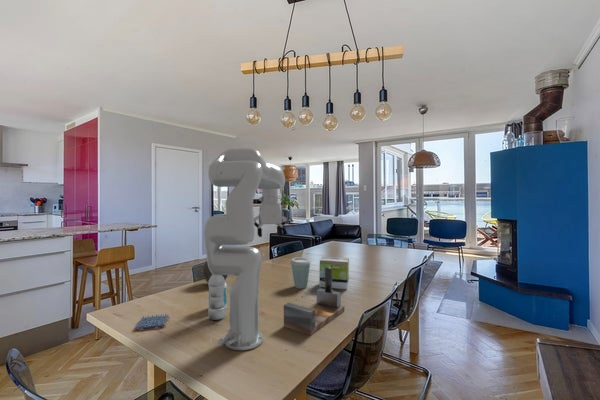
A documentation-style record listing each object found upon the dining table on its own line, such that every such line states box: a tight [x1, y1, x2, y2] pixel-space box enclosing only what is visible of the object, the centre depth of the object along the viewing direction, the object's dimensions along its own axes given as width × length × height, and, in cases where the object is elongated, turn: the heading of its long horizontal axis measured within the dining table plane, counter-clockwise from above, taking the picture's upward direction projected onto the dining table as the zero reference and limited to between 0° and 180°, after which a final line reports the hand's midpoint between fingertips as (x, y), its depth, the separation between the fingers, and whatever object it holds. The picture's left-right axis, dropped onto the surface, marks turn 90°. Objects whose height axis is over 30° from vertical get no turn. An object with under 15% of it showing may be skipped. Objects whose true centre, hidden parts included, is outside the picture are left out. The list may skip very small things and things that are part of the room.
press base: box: [283, 302, 345, 336], centre depth 113 cm, size 26×12×8 cm, turn 145°
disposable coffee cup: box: [290, 257, 311, 289], centre depth 153 cm, size 11×11×15 cm
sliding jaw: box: [316, 267, 342, 308], centre depth 121 cm, size 3×10×16 cm, turn 55°
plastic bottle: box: [207, 273, 226, 321], centre depth 113 cm, size 6×7×20 cm
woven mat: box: [135, 313, 171, 332], centre depth 108 cm, size 10×11×2 cm
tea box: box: [318, 256, 350, 290], centre depth 154 cm, size 15×10×15 cm, turn 76°
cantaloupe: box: [202, 261, 229, 283], centre depth 158 cm, size 14×14×15 cm
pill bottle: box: [208, 277, 228, 310], centre depth 123 cm, size 8×7×14 cm
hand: (269, 236), depth 135 cm, fingers open, 9 cm apart
